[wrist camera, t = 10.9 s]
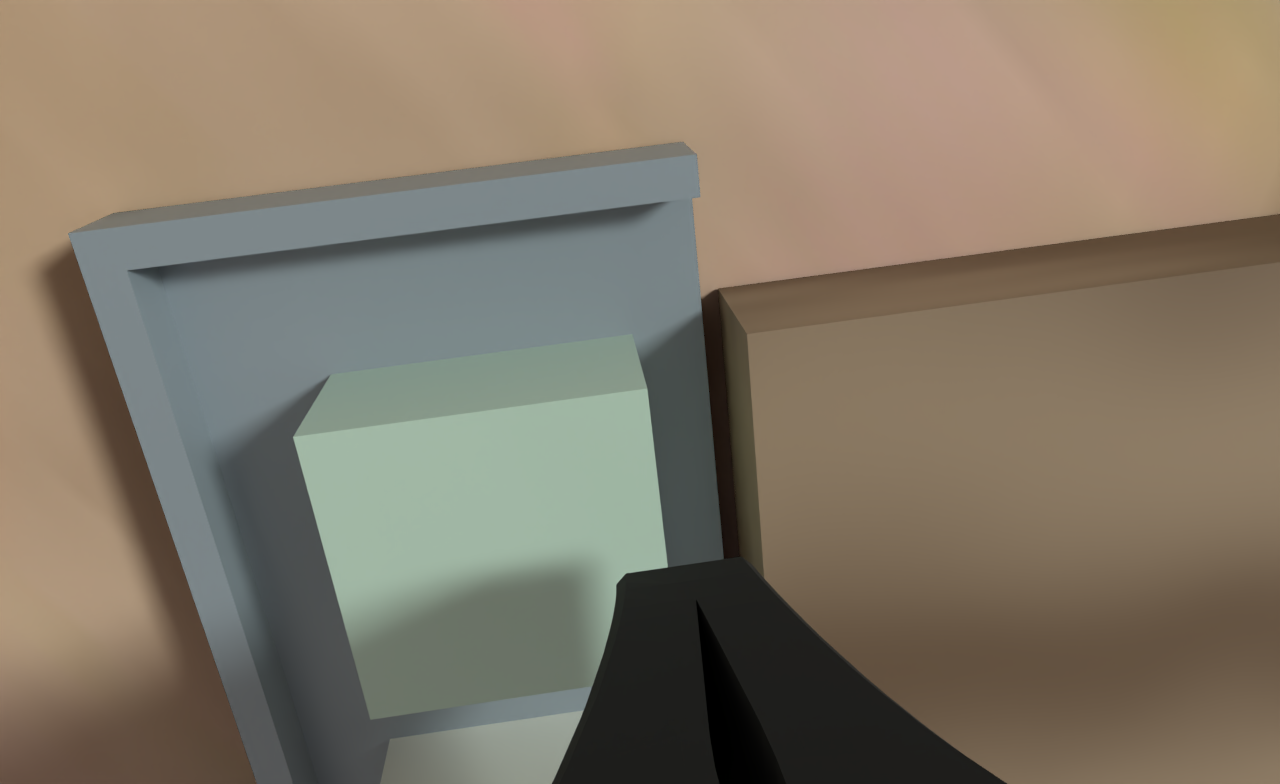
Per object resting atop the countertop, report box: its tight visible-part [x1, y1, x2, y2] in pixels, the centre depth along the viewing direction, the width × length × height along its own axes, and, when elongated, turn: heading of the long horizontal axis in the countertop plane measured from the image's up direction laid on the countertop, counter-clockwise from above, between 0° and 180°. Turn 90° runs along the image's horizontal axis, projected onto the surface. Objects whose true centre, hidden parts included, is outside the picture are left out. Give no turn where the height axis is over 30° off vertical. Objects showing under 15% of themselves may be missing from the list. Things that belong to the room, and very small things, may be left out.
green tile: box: [293, 334, 668, 720], centre depth 12 cm, size 4×4×2 cm
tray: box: [68, 142, 724, 784], centre depth 14 cm, size 14×7×1 cm, turn 6°
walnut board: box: [718, 214, 1280, 784], centre depth 14 cm, size 12×9×2 cm
